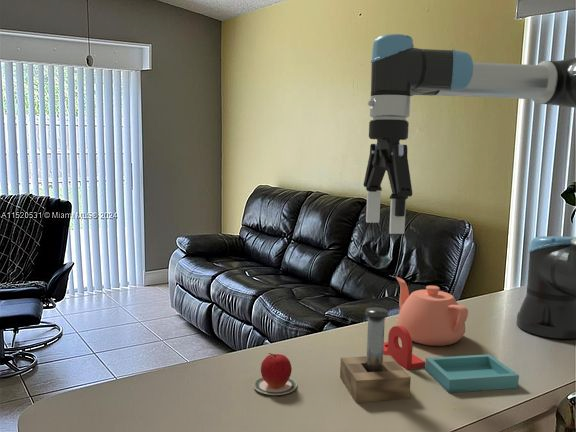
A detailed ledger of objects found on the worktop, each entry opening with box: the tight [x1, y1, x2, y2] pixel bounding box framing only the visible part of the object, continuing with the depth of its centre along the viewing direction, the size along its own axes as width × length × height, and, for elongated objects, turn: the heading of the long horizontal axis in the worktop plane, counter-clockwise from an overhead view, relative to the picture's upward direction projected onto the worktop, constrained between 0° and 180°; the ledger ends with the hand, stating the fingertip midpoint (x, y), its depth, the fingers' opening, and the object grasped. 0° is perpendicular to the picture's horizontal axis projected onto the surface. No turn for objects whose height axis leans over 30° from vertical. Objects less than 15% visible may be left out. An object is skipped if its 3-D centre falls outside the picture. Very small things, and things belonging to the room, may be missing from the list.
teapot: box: [395, 276, 469, 347], centre depth 126 cm, size 22×15×12 cm
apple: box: [253, 352, 298, 396], centre depth 99 cm, size 8×8×6 cm
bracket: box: [383, 325, 426, 371], centre depth 114 cm, size 12×4×8 cm, turn 24°
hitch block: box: [339, 355, 412, 403], centre depth 100 cm, size 10×10×4 cm
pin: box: [365, 306, 389, 372], centre depth 99 cm, size 4×4×15 cm
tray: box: [424, 354, 520, 394], centre depth 104 cm, size 14×10×2 cm
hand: (383, 227), depth 107 cm, fingers open, 13 cm apart
